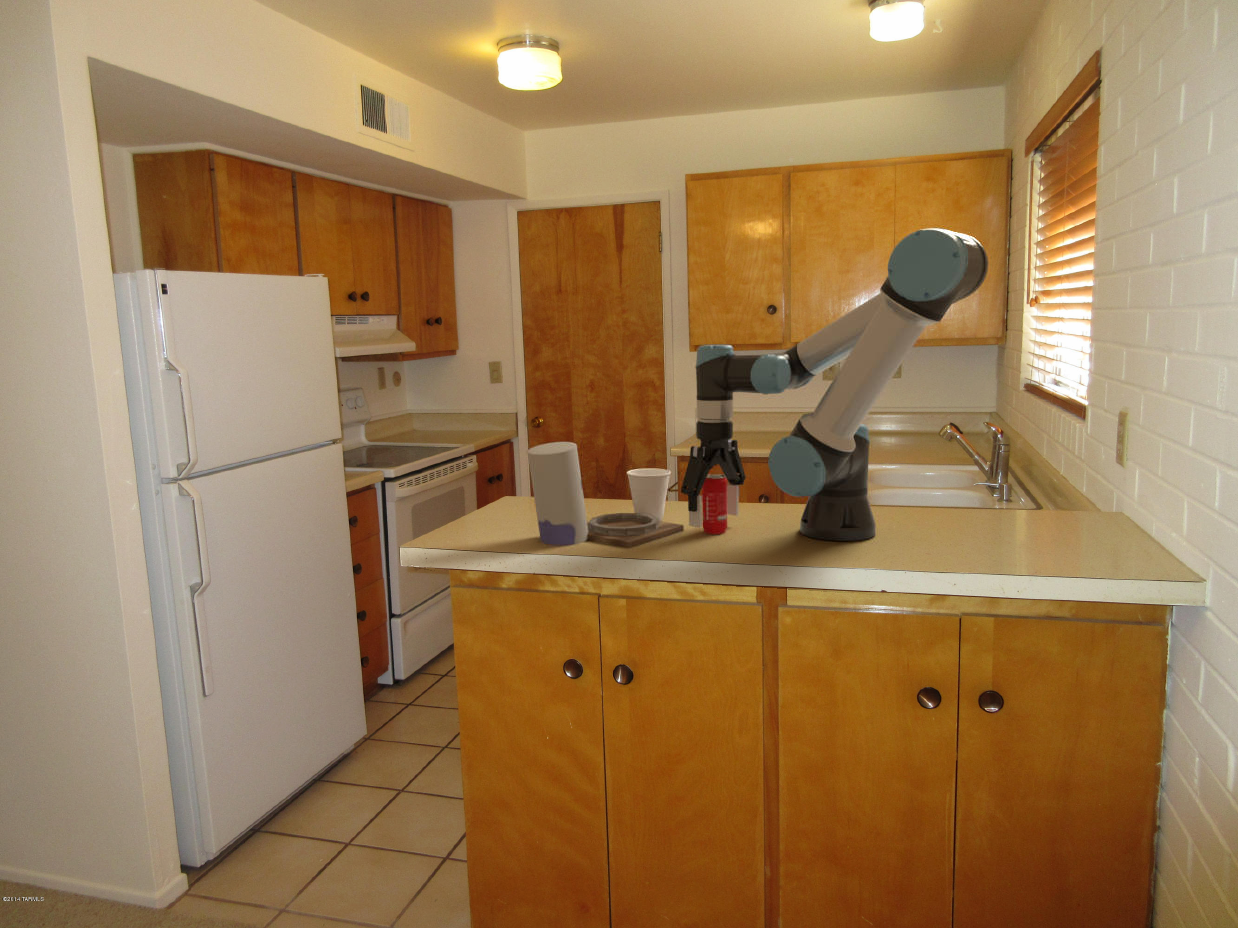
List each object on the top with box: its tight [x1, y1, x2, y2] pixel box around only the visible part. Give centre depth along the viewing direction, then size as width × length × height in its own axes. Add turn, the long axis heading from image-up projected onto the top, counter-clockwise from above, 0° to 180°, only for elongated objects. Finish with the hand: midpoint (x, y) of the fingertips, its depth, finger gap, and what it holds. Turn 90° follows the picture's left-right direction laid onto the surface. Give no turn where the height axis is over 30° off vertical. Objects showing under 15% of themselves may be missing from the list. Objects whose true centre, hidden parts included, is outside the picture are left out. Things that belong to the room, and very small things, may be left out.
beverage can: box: [701, 473, 728, 535], centre depth 179 cm, size 5×5×12 cm
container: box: [527, 441, 588, 546], centre depth 174 cm, size 10×10×20 cm
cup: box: [626, 467, 672, 521], centre depth 191 cm, size 10×10×11 cm
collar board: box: [586, 512, 685, 549], centre depth 180 cm, size 18×18×3 cm
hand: (714, 520), depth 179 cm, fingers open, 13 cm apart
